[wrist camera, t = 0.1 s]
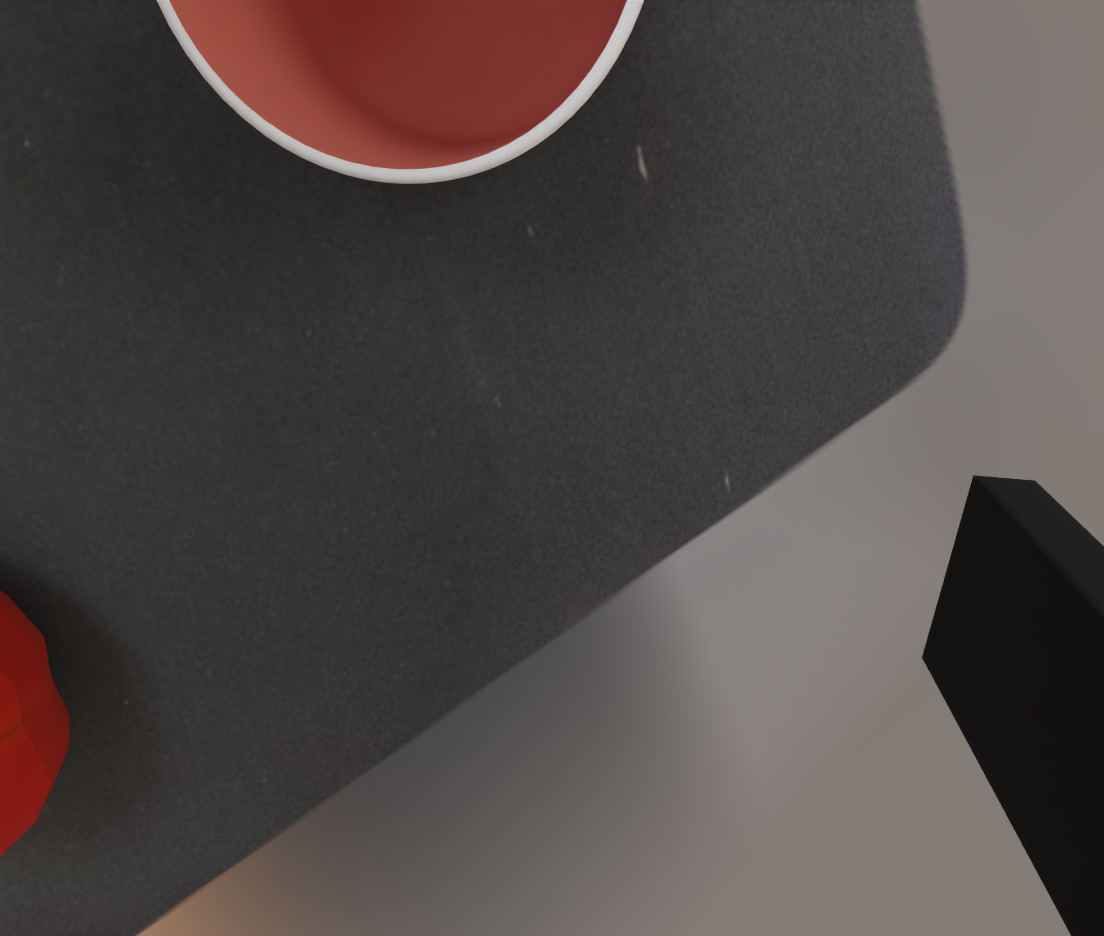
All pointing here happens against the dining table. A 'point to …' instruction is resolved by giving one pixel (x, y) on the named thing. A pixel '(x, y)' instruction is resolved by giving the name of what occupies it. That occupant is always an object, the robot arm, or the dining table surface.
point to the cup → (404, 75)
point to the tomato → (26, 724)
